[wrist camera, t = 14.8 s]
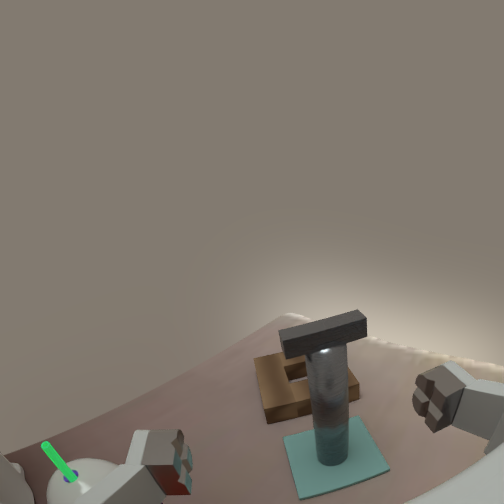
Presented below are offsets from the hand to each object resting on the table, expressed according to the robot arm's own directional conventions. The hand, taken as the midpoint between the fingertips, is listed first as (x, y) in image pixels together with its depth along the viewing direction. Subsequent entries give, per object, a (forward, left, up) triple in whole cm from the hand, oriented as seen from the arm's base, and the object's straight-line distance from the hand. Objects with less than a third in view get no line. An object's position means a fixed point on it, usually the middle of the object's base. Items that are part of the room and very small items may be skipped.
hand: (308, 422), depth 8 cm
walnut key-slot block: (+5, +29, -23) cm, 37 cm away
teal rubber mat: (+5, +14, -23) cm, 27 cm away
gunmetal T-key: (+5, +14, -22) cm, 26 cm away
